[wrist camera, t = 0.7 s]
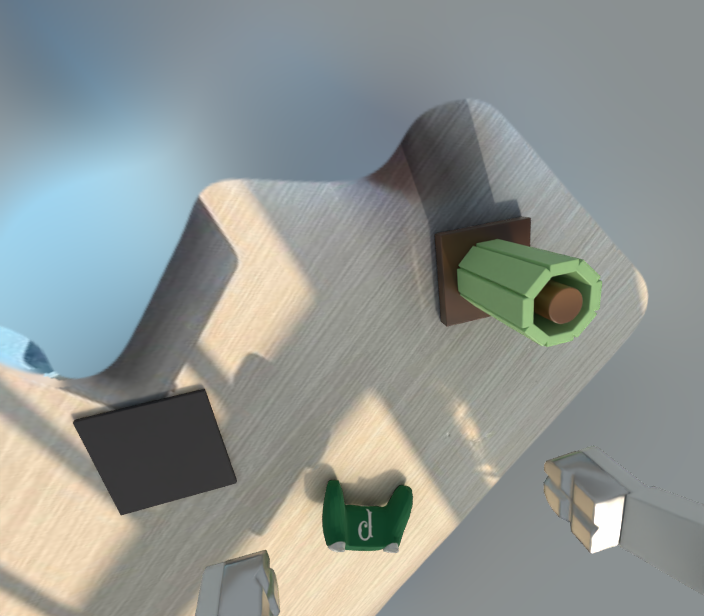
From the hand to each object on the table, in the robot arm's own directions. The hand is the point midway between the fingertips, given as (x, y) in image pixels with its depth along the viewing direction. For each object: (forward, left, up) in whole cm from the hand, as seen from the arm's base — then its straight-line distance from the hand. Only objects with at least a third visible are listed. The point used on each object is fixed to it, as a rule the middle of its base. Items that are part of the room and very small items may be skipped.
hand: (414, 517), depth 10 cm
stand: (+1, +14, -21) cm, 25 cm away
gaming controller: (+23, 0, -21) cm, 31 cm away
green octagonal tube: (+1, +14, -20) cm, 24 cm away
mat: (+11, -16, -21) cm, 28 cm away
